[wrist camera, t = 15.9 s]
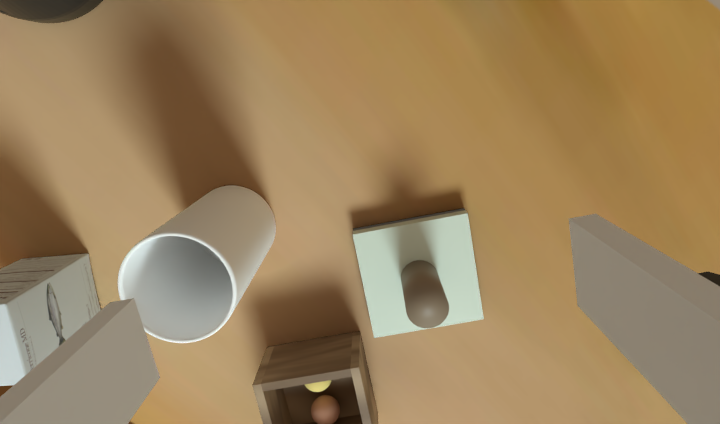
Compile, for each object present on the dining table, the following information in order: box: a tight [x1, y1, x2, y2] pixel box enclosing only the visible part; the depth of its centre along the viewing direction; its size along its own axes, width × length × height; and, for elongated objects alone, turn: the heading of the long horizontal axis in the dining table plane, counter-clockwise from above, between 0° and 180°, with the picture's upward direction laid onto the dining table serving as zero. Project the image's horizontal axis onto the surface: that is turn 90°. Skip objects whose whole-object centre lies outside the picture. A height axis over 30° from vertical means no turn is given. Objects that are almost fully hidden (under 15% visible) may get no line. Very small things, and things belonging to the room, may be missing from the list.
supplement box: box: [0, 253, 101, 386], centre depth 47 cm, size 7×7×13 cm
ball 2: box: [311, 395, 340, 424], centre depth 53 cm, size 3×3×3 cm
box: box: [252, 331, 378, 424], centre depth 52 cm, size 10×10×7 cm
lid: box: [353, 210, 484, 338], centre depth 47 cm, size 11×11×8 cm
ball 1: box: [305, 380, 331, 392], centre depth 52 cm, size 3×3×3 cm
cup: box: [118, 185, 276, 343], centre depth 43 cm, size 8×8×16 cm
